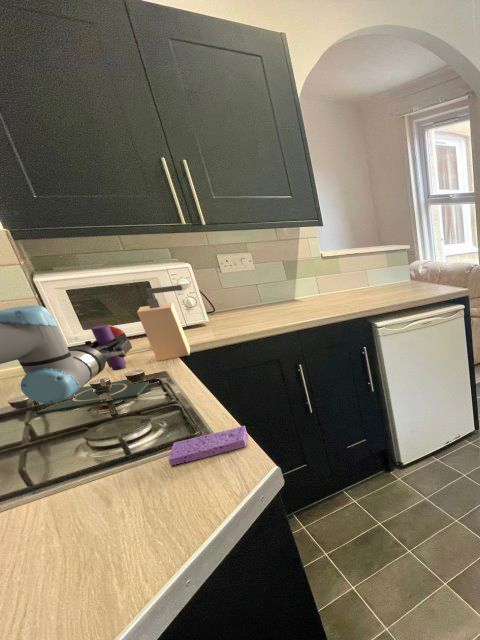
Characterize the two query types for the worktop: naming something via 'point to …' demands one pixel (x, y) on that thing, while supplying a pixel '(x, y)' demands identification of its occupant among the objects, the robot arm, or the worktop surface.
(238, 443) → the sponge
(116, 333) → the red rounded lump
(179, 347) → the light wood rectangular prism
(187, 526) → the worktop surface
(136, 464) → the worktop surface
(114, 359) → the cylinder
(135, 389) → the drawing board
